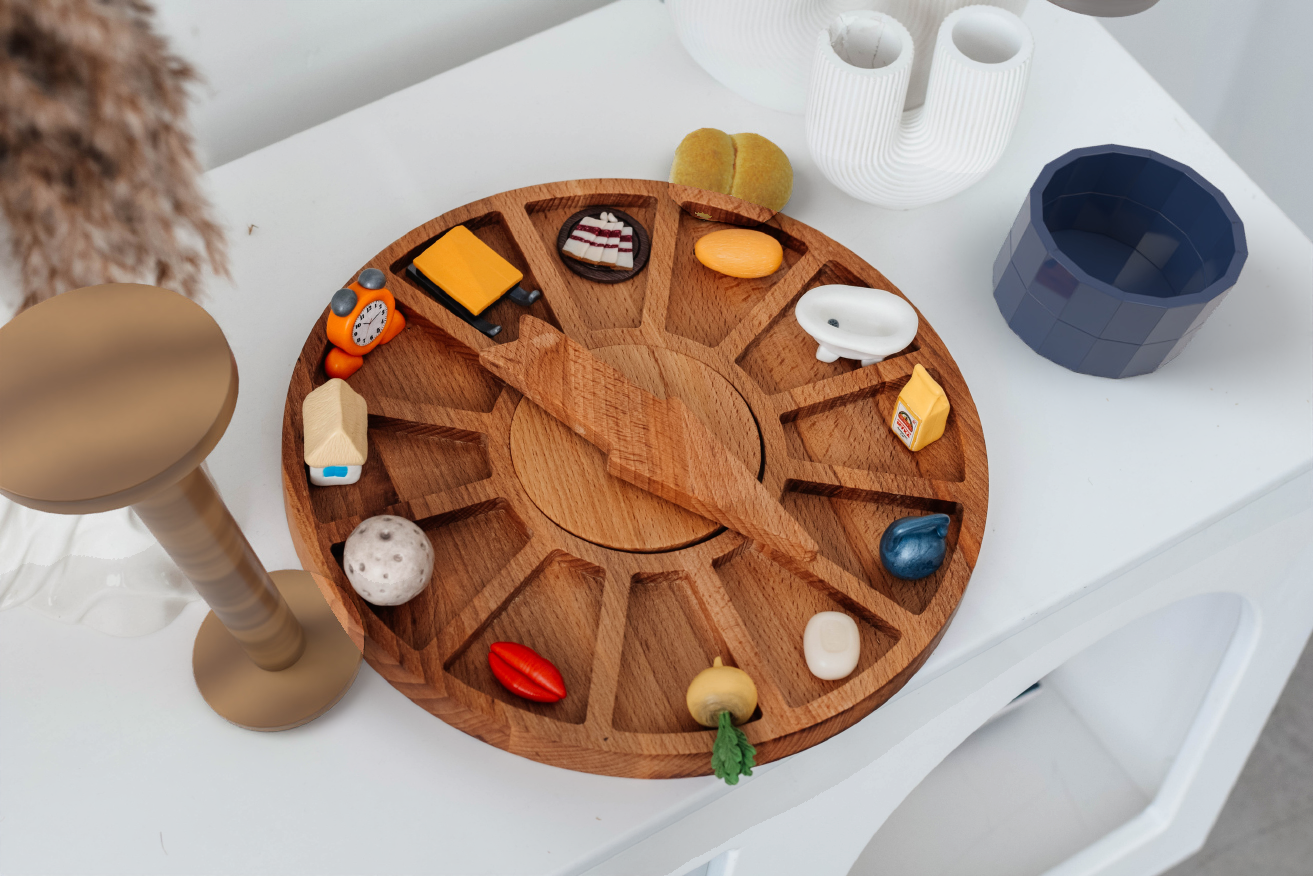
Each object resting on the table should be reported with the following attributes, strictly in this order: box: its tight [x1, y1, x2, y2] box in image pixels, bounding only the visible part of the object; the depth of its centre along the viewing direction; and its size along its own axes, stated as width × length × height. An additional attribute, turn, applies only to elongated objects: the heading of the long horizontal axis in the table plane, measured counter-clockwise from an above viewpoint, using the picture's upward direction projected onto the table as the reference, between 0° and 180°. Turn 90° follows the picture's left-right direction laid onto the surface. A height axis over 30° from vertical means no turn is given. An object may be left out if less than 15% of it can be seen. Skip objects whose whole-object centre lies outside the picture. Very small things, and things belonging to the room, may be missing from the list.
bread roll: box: [667, 127, 794, 219], centre depth 77 cm, size 8×9×4 cm
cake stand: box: [0, 282, 364, 733], centre depth 48 cm, size 9×9×26 cm
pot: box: [992, 143, 1249, 380], centre depth 72 cm, size 14×14×8 cm
